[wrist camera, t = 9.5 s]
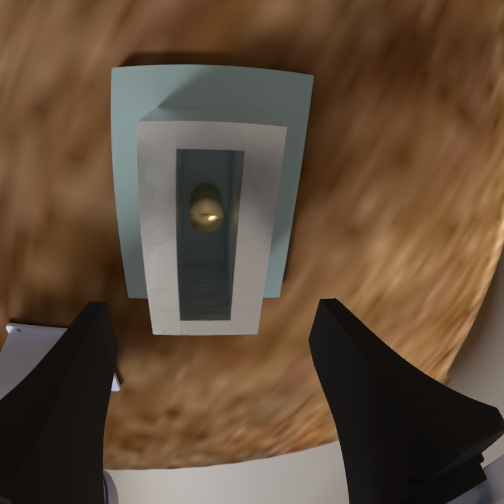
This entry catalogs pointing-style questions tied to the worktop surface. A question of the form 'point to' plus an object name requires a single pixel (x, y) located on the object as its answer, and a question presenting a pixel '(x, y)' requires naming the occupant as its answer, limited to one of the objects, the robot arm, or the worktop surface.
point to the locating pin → (205, 208)
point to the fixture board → (204, 152)
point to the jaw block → (237, 217)
